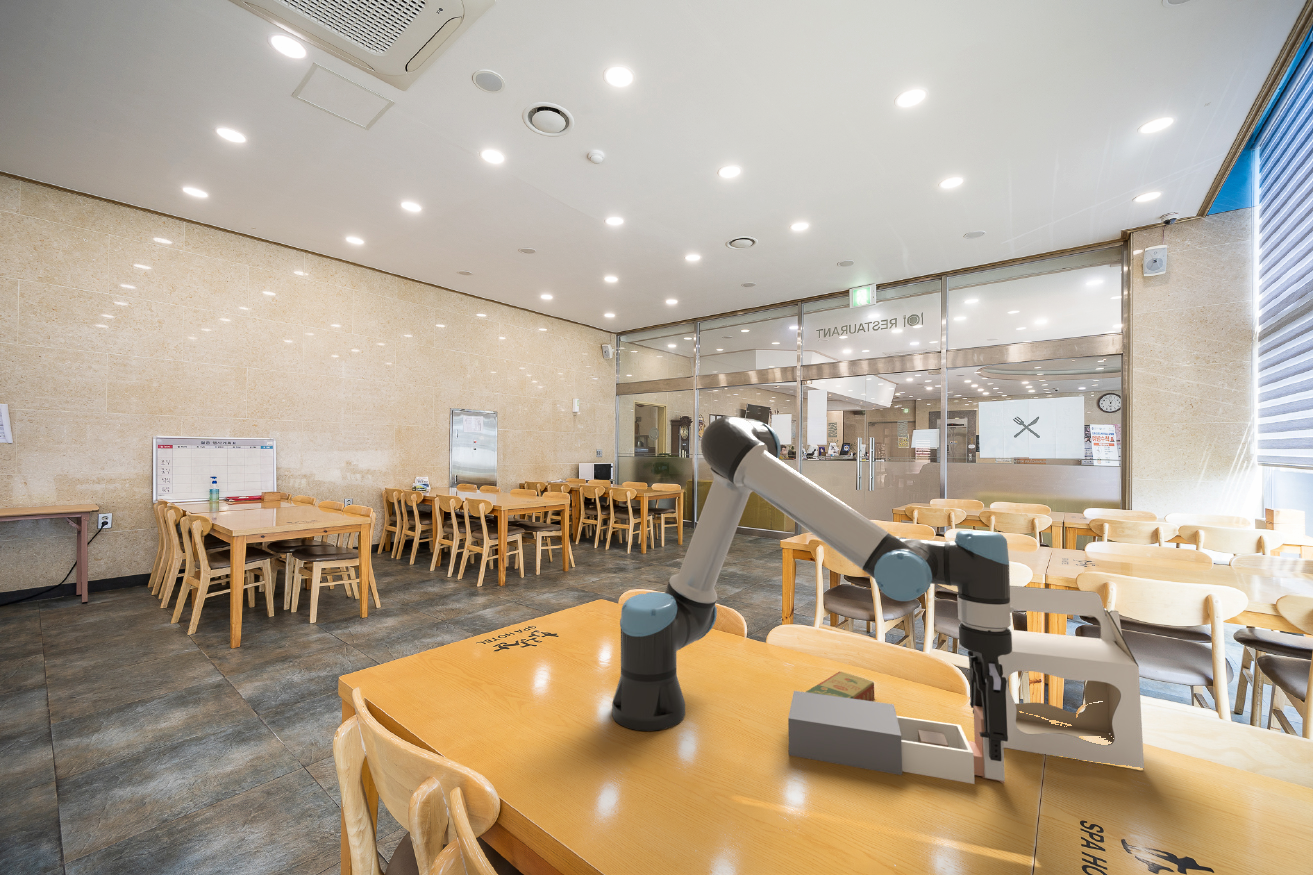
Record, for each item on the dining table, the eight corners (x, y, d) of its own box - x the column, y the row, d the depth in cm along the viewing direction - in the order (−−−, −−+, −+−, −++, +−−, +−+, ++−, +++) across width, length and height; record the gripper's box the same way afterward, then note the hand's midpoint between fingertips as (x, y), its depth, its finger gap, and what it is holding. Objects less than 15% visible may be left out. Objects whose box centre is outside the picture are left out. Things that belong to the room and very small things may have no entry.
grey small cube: (922, 765, 87) (921, 741, 88) (918, 753, 91) (917, 729, 91) (948, 770, 86) (948, 745, 86) (944, 757, 90) (943, 733, 90)
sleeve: (788, 759, 91) (788, 718, 91) (794, 727, 102) (793, 690, 102) (902, 779, 85) (901, 735, 85) (894, 743, 96) (893, 704, 96)
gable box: (1112, 735, 99) (1104, 586, 101) (1146, 772, 87) (1137, 602, 89) (977, 714, 107) (972, 577, 109) (991, 746, 95) (985, 590, 97)
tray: (863, 767, 88) (862, 708, 88) (861, 739, 97) (859, 685, 97) (1009, 793, 81) (1006, 728, 81) (992, 760, 90) (990, 702, 90)
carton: (875, 700, 115) (875, 680, 115) (841, 725, 104) (840, 703, 104) (839, 688, 121) (839, 669, 121) (803, 711, 109) (803, 690, 110)
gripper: (1029, 644, 78) (1035, 806, 76) (995, 612, 95) (999, 744, 93) (971, 638, 80) (977, 795, 79) (948, 609, 97) (952, 737, 96)
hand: (989, 767), depth 86 cm, fingers closed on tray, 5 cm apart
